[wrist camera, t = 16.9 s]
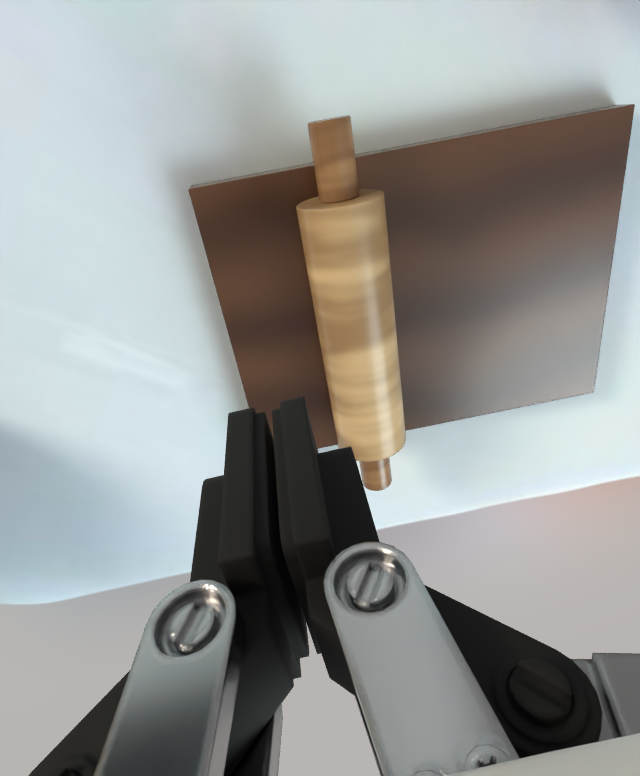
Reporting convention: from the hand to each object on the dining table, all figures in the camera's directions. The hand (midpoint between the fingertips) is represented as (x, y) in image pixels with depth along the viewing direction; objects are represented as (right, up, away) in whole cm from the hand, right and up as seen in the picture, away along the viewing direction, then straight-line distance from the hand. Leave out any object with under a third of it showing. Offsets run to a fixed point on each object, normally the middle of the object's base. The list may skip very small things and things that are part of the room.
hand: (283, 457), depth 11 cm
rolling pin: (+3, +6, +19) cm, 20 cm away
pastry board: (+7, +7, +20) cm, 23 cm away
